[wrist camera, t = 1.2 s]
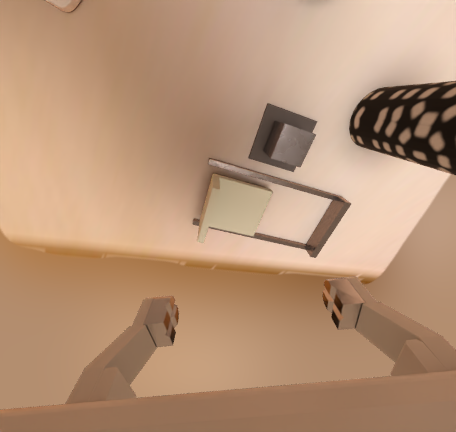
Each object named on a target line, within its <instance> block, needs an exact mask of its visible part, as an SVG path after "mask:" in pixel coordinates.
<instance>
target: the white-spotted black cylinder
mask: <svg viewBox="0 0 456 432" xmlns="http://www.w3.org/2000/svg"><path fill="white" fill-rule="evenodd" d="M349 129H350V135H351V138H352V140H353V141H354V142H355V143H356V144H357V145H359V146H361V147H364V148H367V149H370V150H374V151H377V152H380V153H384V154H387V155H390V156H394V157H397V158H400V159H404V160H407V161H410V162H414V163H417V164H420V165H424V166H427V167H430V168H434V169H437V170H440V171H444V172H447V173H450V174H454V175H456V81H451V82H439V83H428V84H417V85H406V86H394V87H384V88H380V89H377V90H375V91H373V92H371V93H370V94H368V95H367V96H366V97H365V98H364V99H362V101H361V102H360V103H359V104H358V105H357V107H356V109H355V110H354V112H353V115H352V117H351V121H350V128H349Z"/></svg>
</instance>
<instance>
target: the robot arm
mask: <svg viewBox="0 0 456 432" xmlns="http://www.w3.org/2000/svg"><path fill="white" fill-rule="evenodd" d="M45 1H47V2H48V3H50V4H52V5H53V6H55V7H57V8H58V9H60V10H62V11H64V12H71V11H73V10H74V9H75V8H76V7H77V5H78V4H79V3H80V1H81V0H45ZM324 286H325V289H324V291H323V301H324V304H325V306H326V308H327V310H328V311H330V312H331V313H332V316H331V317H332V320H333V322H334V323H335V325H336V327H337V329H338V330H341V329H356V330H357V331H358V332H359V333H360V334H362V335H363V336H364V337H365V338H366V339H368V340H369V341H370V342H371V343H373V344H374V345H375V346H376V347H377V348H379V349H380V350H381V351H382V352H383V353H385V354H386V355H387V356H388V357H389V358H391V359H392V360H393V361H394V362H395V365H394V367H393V369H392V371H391V376H385V377H373V378H362V379H350V380H338V381H326V382H315V383H303V384H291V385H280V386H268V387H256V388H246V389H234V390H223V391H212V392H211V391H210V392H199V393H187V394H176V395H165V396H153V397H141V398H136V395H135V393H134V391H133V390H132V389H131V387H130V384H131V383H132V381H133V380H134V379H135V377H136V376H137V375H138V373H139V372H140V371H141V369H142V368H143V366H144V365H145V364H146V362H147V361H148V360H149V358H150V357H151V355H152V354H153V353H154V351H155V350H156V347H163V346H171V345H173V342H174V338H175V334H176V332H175V329H174V328H175V326H176V325H177V324H178V319H179V312H178V307H177V305H175V304H174V303H175V298H174V296H162V297H151V298H145V299H144V300H143V302H142V304H141V306H140V309H139V311H138V313H137V316H136V318H135V320H134V323H133V325H132V326H130V327H128V328H127V329H126V330H125V331H124V332H123V333H122V334H121V335H120V336H119V337H118V338H116V340H114V341H113V342H112V343H111V344H110V345H109V346H108V347H107V348H106V349H105V350H104V351H103V352H102V353H100V354H99V355H98V356H97V357H96V358H95V359H94V360H93V361H92V362H91V363H90V364H89V365H88V366H87V367H86V368H85V369H84V370H83V372H82V374H81V376H80V378H79V379H78V381H77V383H76V385H75V387H74V389H73V390H72V392H71V394H70V396H69V398H68V400H67V402H66V403H65V404H61V405H50V406H49V405H48V406H37V407H26V408H14V409H2V410H0V432H456V350H455V348H453V346H451V345H450V343H449V342H448V341H447V340H446V339H445V338H444V337H443V336H441V335H439V334H438V333H436V332H434V331H432V330H430V329H429V328H427V327H425V326H423V325H421V324H420V323H418V322H416V321H414V320H412V319H410V318H409V317H407V316H405V315H403V314H401V313H399V312H398V311H396V310H394V309H392V308H391V307H389V306H387V305H385V304H383V303H381V302H377V301H376V300H375V299H374V298H373V296H372V295H371V294H370V293H369V292H368V290H367V289H366V288H365V287H364V286H363V284H362V283H361V282H360V281H359V279H358V278H357V277H346V278H336V279H329V280H328V279H327V280H325V281H324Z"/></svg>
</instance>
